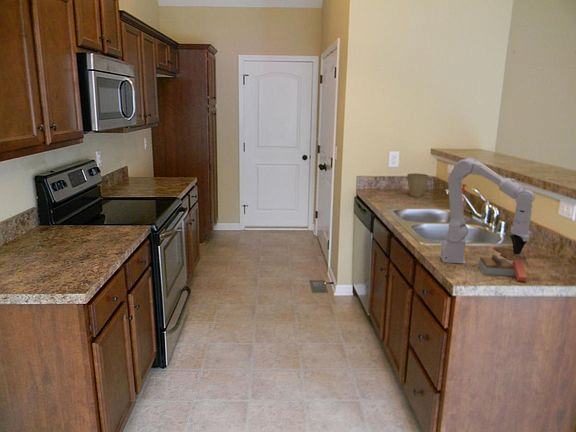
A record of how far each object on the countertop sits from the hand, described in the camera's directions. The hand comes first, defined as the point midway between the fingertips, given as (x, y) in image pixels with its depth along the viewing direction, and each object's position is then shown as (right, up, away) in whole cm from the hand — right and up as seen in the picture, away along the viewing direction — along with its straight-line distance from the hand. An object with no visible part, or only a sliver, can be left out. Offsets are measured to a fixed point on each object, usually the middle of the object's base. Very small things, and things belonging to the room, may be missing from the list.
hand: (516, 253), depth 181 cm
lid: (-7, -4, +3) cm, 9 cm away
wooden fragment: (+10, -3, +24) cm, 26 cm away
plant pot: (+3, +29, +154) cm, 157 cm away
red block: (-1, -7, -3) cm, 8 cm away
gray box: (-6, -8, +3) cm, 10 cm away
